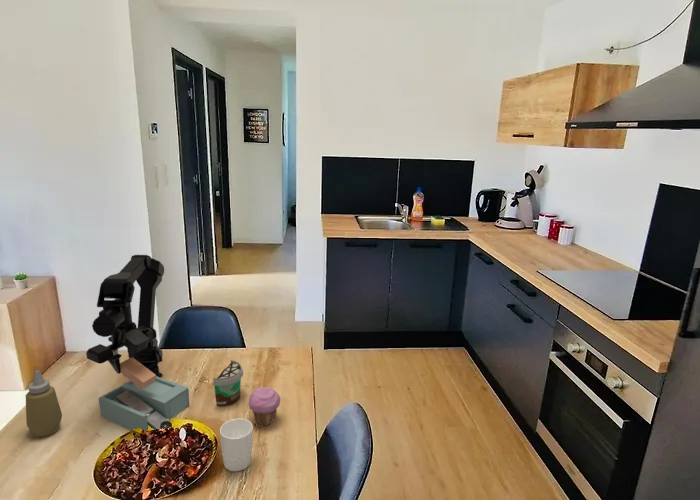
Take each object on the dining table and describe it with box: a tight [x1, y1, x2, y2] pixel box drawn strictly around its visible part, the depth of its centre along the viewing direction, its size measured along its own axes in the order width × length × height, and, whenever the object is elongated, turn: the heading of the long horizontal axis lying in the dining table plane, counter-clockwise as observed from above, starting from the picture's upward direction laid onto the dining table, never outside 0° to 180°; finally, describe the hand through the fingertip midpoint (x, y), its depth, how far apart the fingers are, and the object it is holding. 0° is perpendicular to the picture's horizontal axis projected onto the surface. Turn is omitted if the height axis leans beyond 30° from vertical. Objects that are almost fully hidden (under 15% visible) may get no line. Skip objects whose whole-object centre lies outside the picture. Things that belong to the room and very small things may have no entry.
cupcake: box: [248, 386, 281, 427], centre depth 130 cm, size 9×9×10 cm
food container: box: [212, 359, 244, 407], centre depth 139 cm, size 12×6×10 cm, turn 168°
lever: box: [115, 390, 173, 431], centre depth 127 cm, size 19×4×2 cm, turn 65°
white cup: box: [219, 418, 254, 472], centre depth 113 cm, size 8×8×10 cm
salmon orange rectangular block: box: [120, 357, 156, 389], centre depth 130 cm, size 10×4×3 cm, turn 64°
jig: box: [98, 376, 190, 431], centre depth 132 cm, size 18×16×6 cm
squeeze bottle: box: [25, 369, 63, 438], centre depth 121 cm, size 8×8×18 cm
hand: (126, 369), depth 132 cm, fingers closed on salmon orange rectangular block, 4 cm apart
